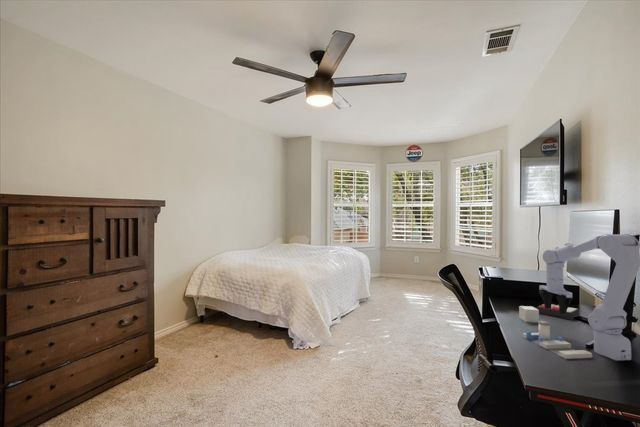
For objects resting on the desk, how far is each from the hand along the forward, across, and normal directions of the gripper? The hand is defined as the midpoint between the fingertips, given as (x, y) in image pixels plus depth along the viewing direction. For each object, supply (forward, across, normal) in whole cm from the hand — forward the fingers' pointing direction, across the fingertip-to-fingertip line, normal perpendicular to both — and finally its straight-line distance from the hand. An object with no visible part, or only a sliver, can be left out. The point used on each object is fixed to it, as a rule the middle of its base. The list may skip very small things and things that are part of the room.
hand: (555, 310), depth 132 cm
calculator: (+11, +28, -26) cm, 40 cm away
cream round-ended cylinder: (+9, -8, +12) cm, 17 cm away
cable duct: (+10, -13, +12) cm, 21 cm away
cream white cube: (+11, +20, -4) cm, 23 cm away
